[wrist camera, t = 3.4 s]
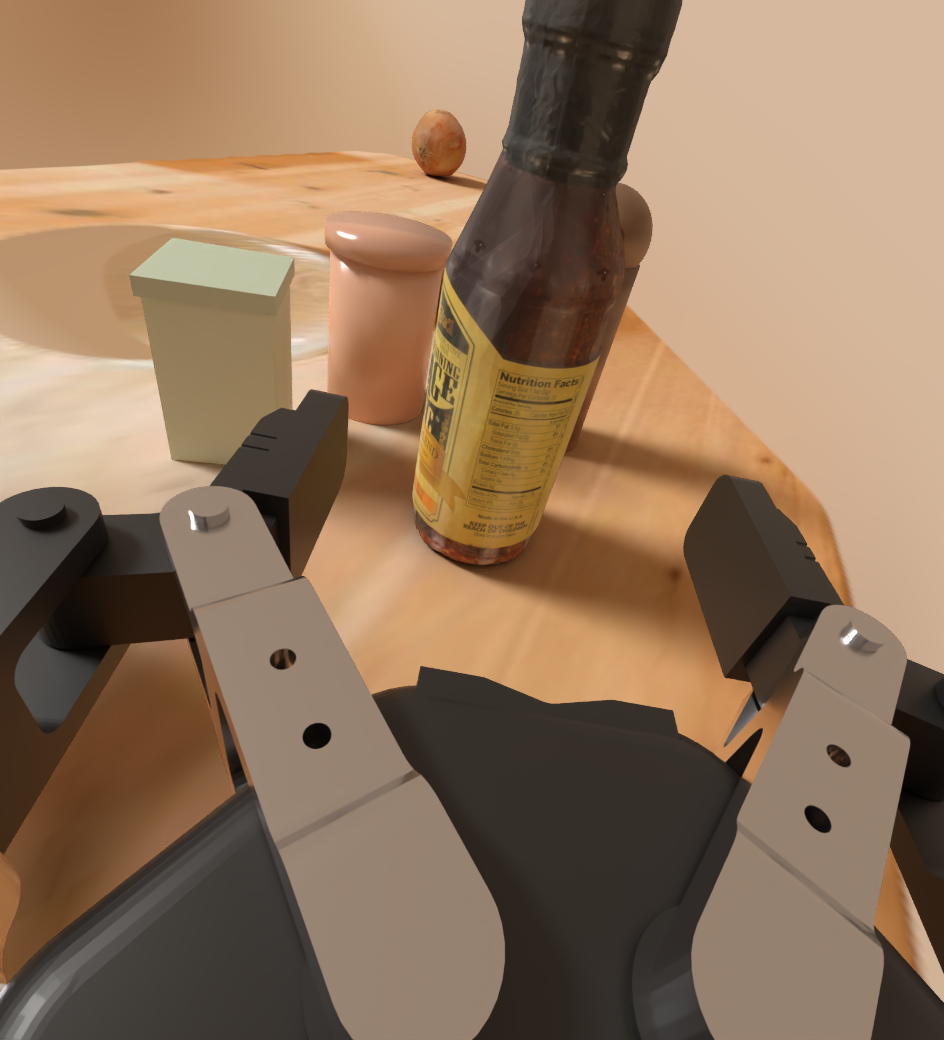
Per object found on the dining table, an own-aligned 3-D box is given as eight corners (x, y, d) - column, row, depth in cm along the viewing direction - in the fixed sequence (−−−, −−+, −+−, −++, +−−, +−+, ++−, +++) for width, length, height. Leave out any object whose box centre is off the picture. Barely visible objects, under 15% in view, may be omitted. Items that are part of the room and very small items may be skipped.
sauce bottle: (423, 479, 30) (505, -32, 17) (536, 506, 30) (700, 16, 17) (391, 560, 25) (474, -81, 12) (527, 593, 25) (750, -13, 12)
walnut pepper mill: (508, 445, 34) (579, 180, 25) (509, 410, 38) (572, 166, 29) (580, 460, 34) (676, 202, 25) (575, 423, 38) (657, 186, 29)
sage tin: (166, 461, 27) (129, 275, 21) (196, 406, 31) (172, 238, 26) (281, 472, 28) (274, 296, 23) (296, 417, 32) (294, 257, 27)
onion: (469, 181, 105) (479, 117, 99) (448, 185, 98) (458, 116, 92) (423, 168, 107) (430, 104, 101) (399, 171, 100) (405, 102, 93)
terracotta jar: (308, 414, 33) (308, 229, 26) (337, 367, 38) (343, 204, 31) (419, 436, 33) (445, 260, 27) (433, 387, 38) (457, 230, 32)
